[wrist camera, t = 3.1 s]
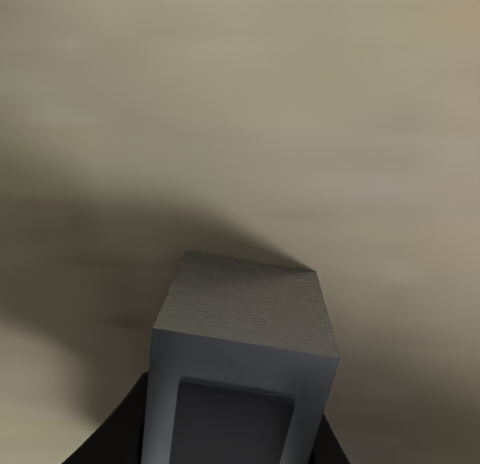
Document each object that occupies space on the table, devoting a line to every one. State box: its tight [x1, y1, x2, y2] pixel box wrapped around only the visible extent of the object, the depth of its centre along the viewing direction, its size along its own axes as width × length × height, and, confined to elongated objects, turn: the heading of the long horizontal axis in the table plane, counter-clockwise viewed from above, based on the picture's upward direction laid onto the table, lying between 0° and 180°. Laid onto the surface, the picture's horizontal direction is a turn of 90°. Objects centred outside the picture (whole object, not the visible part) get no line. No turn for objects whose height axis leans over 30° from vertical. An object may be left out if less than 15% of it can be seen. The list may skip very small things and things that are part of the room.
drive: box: [141, 251, 340, 464], centre depth 12 cm, size 4×9×4 cm, turn 171°
